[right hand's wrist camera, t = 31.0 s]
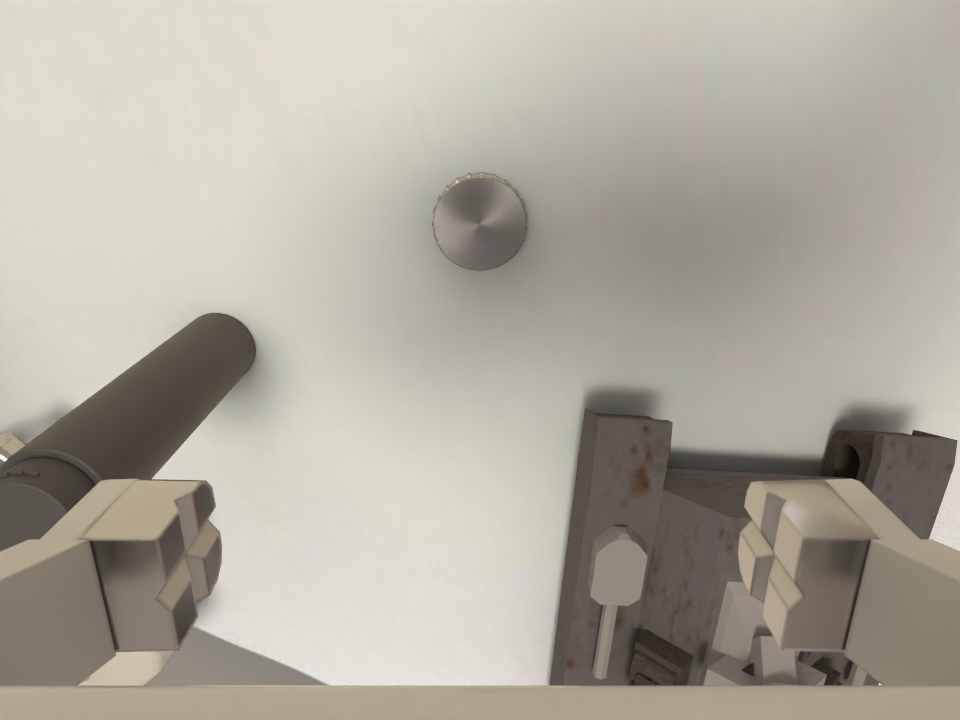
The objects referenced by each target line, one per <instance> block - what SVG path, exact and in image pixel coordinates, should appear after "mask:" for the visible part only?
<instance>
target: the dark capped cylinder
mask: <svg viewBox="0 0 960 720" xmlns="http://www.w3.org/2000/svg"><path fill="white" fill-rule="evenodd" d="M254 358H255V344H254V341H253V338H252V336H251V334H250V332H249V331H248V330H247V328H246V327H245V326H244V325H243V324H242V323H241V322H239V321H238V320H236V319H235V318H233V317H230V316H228V315H224V314H218V313H212V314H206V315H203V316H200V317H198V318H197V319H195V320H194V321H193V322H191V323H190V324H188V325H187V326H186V327H184V328H183V329H182V330H180V331H179V332H178V333H176V334H175V335H174V336H172V337H171V338H170V339H168V340H167V341H166V342H164V343H163V344H162V345H160V346H159V347H157V348H156V349H155V350H153V351H152V352H151V353H149V354H148V355H147V356H145V357H144V358H143V359H141V360H140V361H139V362H137V363H136V364H135V365H133V366H132V367H130V368H129V369H128V370H126V371H125V372H124V373H122V374H121V375H120V376H118V377H117V378H116V379H114V380H113V381H112V382H110V383H109V384H108V385H106V386H105V387H103V388H102V389H101V390H99V391H98V392H97V393H95V394H94V395H93V396H91V397H90V398H89V399H87V400H86V401H85V402H83V403H82V404H81V405H79V406H78V407H76V408H75V409H74V410H72V411H71V412H70V413H68V414H67V415H66V416H64V417H63V418H62V419H60V420H59V421H58V422H56V423H55V424H54V425H52V426H51V427H49V428H48V429H47V430H45V431H44V432H43V433H41V434H40V435H39V436H37V437H36V438H35V439H33V440H32V441H31V442H29V443H28V444H27V445H25V446H24V447H22V448H21V449H20V450H18V451H17V452H16V453H14V454H13V455H12V456H10V457H9V458H8V459H7V460H6V461H5V462H4V463H3V464H2V466H1V467H0V551H3V550H5V549H7V548H10V547H12V546H15V545H17V544H19V543H22V542H24V541H26V540H29V539H41V538H42V537H43V536H44V535H45V534H46V533H47V532H48V531H49V530H50V529H51V528H52V527H53V526H54V525H55V524H56V523H57V522H58V521H59V520H60V519H61V518H62V517H64V516H65V515H66V514H67V513H68V512H69V511H70V510H71V509H72V508H73V507H74V506H75V505H76V504H77V503H78V502H79V501H80V500H81V499H82V498H83V497H84V496H85V495H86V494H87V493H88V492H89V491H91V490H92V489H93V488H94V487H95V486H96V485H97V484H98V483H99V482H100V481H102V480H109V479H139V480H142V479H152V478H153V477H154V475H155V474H156V473H157V472H158V471H159V470H160V469H161V468H162V466H163V465H164V464H165V463H166V462H167V461H168V460H169V459H170V457H171V456H172V455H173V454H174V453H175V452H176V451H177V450H178V448H179V447H180V446H181V445H182V444H183V443H184V442H185V441H186V439H187V438H188V437H189V436H190V435H191V434H192V433H193V432H194V430H195V429H196V428H197V427H198V426H199V425H200V424H201V422H202V421H203V420H204V419H205V418H206V417H207V416H208V415H209V413H210V412H211V411H212V410H213V409H214V408H215V407H216V406H217V404H218V403H219V402H220V401H221V400H222V399H223V398H224V397H225V395H226V394H227V393H228V392H229V391H230V390H231V389H232V388H233V386H234V385H235V384H236V383H237V382H238V381H239V380H240V379H241V377H242V376H243V375H244V374H245V373H246V372H247V371H248V370H249V368H250V367H251V365H252V363H253V361H254Z"/></svg>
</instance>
